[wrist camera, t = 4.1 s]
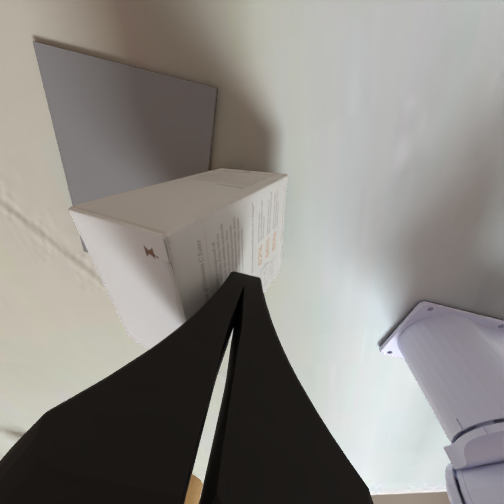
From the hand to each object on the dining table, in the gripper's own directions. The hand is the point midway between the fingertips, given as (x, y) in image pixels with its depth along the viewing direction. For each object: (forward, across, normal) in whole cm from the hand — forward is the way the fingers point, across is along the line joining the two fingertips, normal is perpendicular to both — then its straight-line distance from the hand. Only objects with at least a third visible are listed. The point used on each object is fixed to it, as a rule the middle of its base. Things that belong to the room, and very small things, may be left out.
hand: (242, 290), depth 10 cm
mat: (+10, +11, 0) cm, 14 cm away
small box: (+9, 0, 0) cm, 9 cm away
